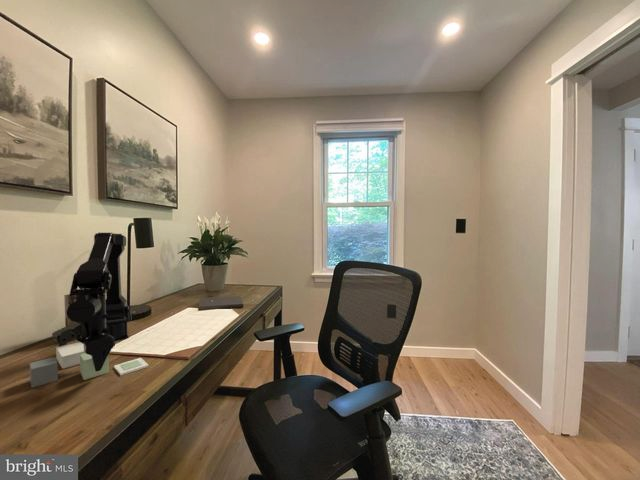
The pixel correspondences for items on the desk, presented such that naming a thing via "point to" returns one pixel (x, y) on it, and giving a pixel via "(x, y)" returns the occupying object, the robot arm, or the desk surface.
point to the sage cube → (91, 367)
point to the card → (130, 366)
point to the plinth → (69, 354)
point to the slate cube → (43, 372)
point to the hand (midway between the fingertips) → (94, 365)
